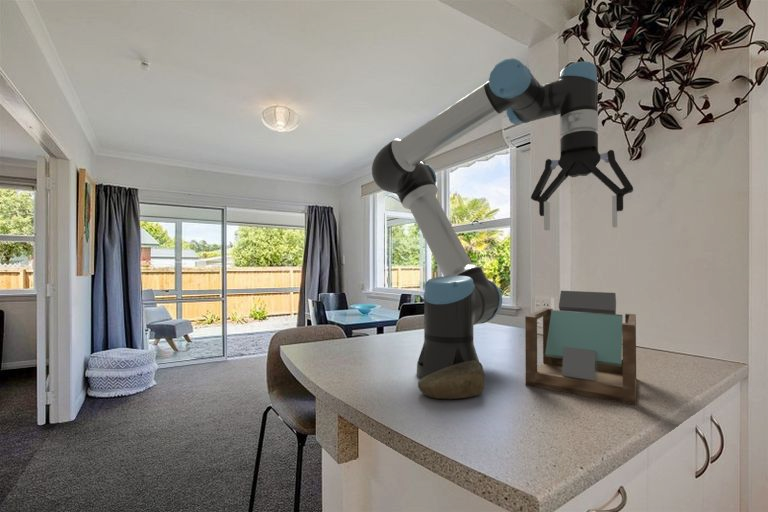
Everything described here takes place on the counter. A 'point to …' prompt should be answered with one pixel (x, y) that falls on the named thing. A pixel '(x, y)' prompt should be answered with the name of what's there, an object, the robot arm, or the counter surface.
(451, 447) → the counter surface
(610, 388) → the frame
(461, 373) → the stone
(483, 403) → the counter surface
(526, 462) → the counter surface
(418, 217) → the robot arm
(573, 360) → the gray cube
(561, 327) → the trapdoor
